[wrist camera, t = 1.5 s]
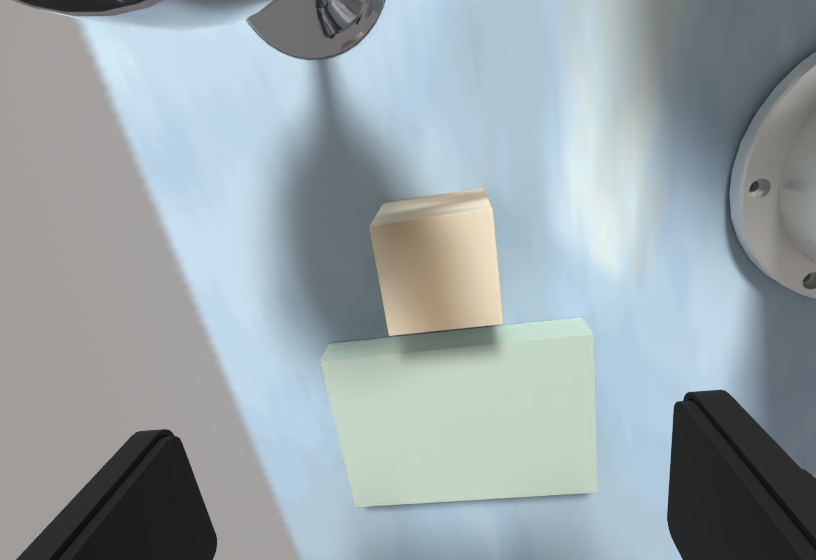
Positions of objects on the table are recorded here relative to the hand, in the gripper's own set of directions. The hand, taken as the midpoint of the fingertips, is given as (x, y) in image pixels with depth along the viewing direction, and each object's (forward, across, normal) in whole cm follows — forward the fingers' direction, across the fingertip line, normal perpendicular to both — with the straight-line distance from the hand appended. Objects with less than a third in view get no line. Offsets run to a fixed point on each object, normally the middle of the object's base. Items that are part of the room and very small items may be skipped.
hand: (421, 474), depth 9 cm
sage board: (+16, 0, +10) cm, 19 cm away
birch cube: (+17, 0, 0) cm, 17 cm away
